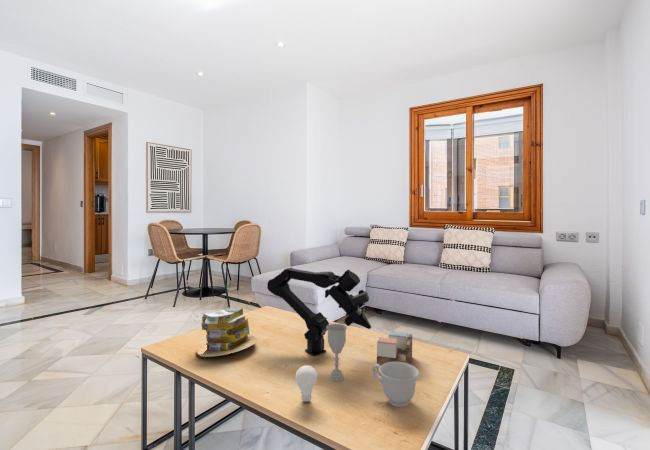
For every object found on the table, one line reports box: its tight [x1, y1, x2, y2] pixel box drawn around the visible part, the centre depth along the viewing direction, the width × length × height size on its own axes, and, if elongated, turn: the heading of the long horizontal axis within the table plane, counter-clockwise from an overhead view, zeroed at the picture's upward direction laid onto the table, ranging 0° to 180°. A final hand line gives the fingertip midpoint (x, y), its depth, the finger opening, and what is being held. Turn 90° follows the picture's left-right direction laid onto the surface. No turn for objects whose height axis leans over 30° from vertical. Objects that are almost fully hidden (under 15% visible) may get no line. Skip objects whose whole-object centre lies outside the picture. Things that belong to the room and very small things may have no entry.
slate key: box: [387, 330, 409, 351], centre depth 135 cm, size 7×4×6 cm, turn 72°
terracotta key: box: [376, 336, 397, 358], centre depth 128 cm, size 7×4×6 cm, turn 72°
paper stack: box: [199, 307, 258, 358], centre depth 144 cm, size 25×25×17 cm
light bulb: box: [295, 364, 318, 403], centre depth 104 cm, size 7×7×11 cm
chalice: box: [326, 323, 348, 382], centre depth 119 cm, size 7×7×18 cm
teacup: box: [371, 362, 420, 408], centre depth 105 cm, size 12×15×10 cm
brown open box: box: [376, 333, 413, 366], centre depth 131 cm, size 12×13×10 cm
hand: (370, 328), depth 133 cm, fingers closed
